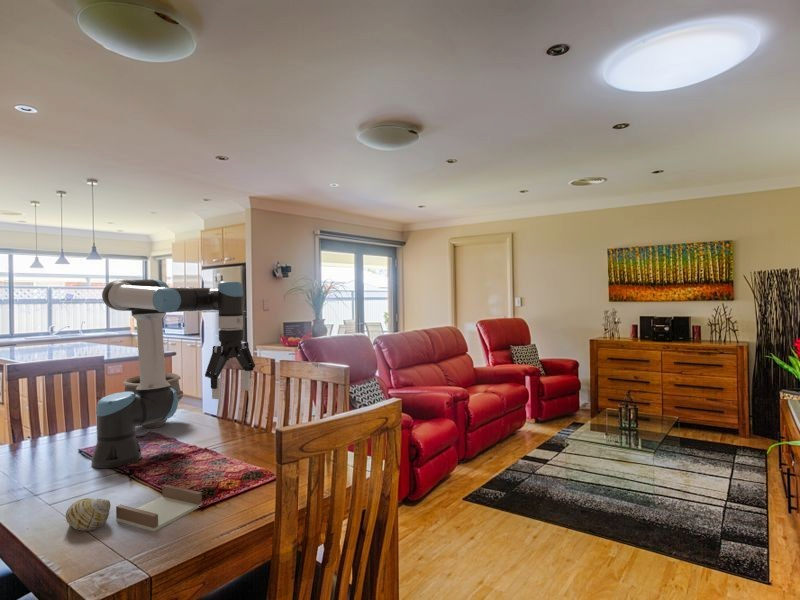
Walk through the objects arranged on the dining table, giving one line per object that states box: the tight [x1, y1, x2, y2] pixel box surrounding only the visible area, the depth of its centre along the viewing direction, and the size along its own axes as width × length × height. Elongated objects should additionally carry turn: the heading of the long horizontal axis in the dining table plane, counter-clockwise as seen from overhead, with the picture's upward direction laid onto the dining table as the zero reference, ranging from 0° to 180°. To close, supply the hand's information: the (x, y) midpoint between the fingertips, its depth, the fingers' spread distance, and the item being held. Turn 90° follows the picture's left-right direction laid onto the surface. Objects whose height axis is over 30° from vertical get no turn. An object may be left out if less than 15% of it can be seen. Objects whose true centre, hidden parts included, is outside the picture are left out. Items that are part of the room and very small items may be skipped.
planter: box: [122, 372, 184, 429], centre depth 209 cm, size 25×24×22 cm
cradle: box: [115, 484, 203, 532], centre depth 125 cm, size 14×15×4 cm
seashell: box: [65, 498, 111, 532], centre depth 119 cm, size 10×10×10 cm
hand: (231, 394), depth 151 cm, fingers open, 13 cm apart
